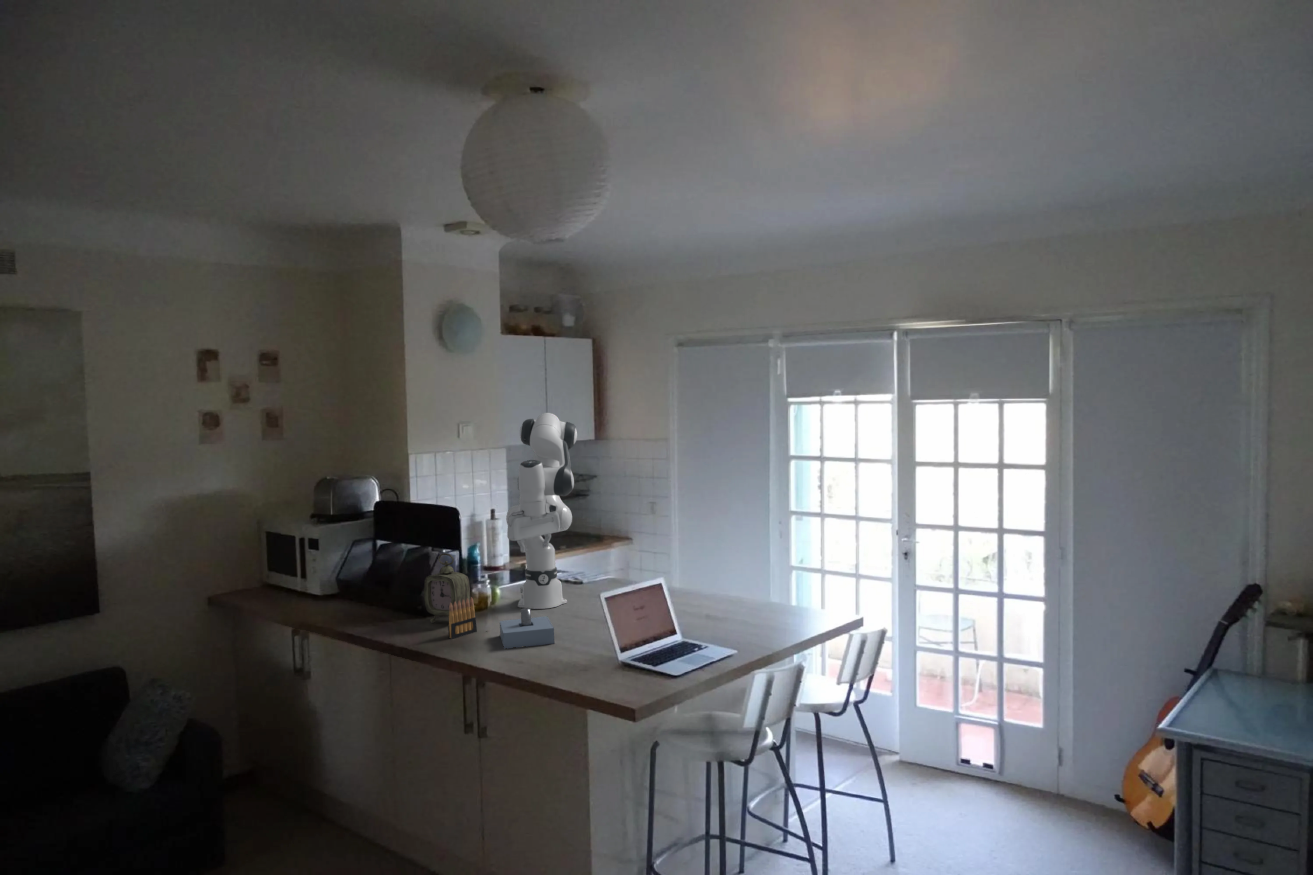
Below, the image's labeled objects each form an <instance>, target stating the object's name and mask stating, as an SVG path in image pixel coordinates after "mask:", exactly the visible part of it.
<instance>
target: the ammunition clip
mask: <svg viewBox="0 0 1313 875" xmlns="http://www.w3.org/2000/svg"><path fill="white" fill-rule="evenodd" d="M474 603H475V602H474V599H473V597H472V596H470V604H469V600H468V598H467V600H466V608H465V601H464V599H463V601H462V609H461V603H460V601H458V612H457V605H456V602H454V607H453V606H452V603H450V606H449V616H448V624H447V625H448V630H447V631H448V632H447V633H448V634H447V635H448V636H447V637H448V639H451V640H455V639H457V638H460V637H464V636H467V635H470V634H474V633H477V632H478V627H477V617H476V611H475V605H474ZM453 609H454V610H453Z"/></svg>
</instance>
